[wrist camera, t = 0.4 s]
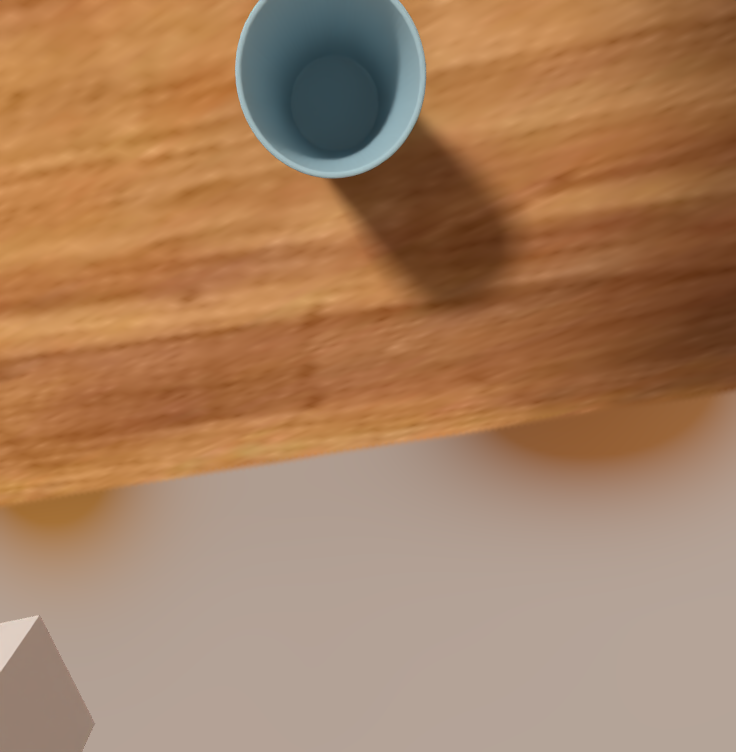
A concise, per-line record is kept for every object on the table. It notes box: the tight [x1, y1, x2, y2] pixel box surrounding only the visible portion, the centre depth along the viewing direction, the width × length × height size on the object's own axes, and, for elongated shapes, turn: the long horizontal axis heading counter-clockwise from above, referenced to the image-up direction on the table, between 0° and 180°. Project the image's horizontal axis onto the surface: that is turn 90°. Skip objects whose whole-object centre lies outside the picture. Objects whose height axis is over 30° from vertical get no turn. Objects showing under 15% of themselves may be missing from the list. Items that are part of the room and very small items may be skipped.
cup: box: [235, 0, 426, 178], centre depth 29 cm, size 8×8×10 cm
